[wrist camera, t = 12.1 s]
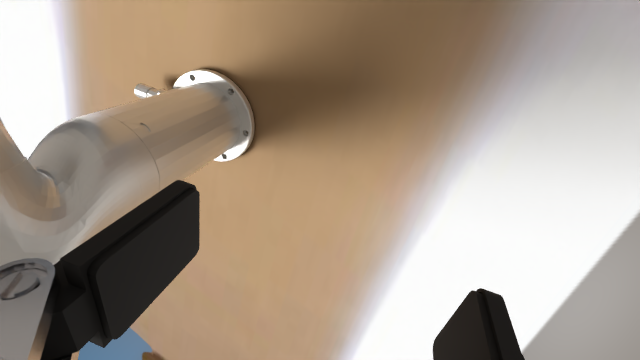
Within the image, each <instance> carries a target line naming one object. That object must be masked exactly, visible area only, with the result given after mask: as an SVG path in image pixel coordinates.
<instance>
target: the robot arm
mask: <svg viewBox="0 0 640 360" xmlns="http://www.w3.org/2000/svg"><path fill="white" fill-rule="evenodd" d="M135 95H136V96H137V97H139V98H141V99H140V100H136V101H133V102H129V103H126V104H122V105H119V106H115V107H112V108H108V109H105V110H101V111H98V112H94V113H91V114H86V115H83V116H80V117H76V118H73V119H71V120H68V121H66V122H64V123H63V124H61V125H59V126H57V127H56V128H55V129H53V130H52V131H51V132H50V133H48V134H47V135H46V136H45V138H44V139H43V140H42V141H41V142H40V143H39V144H38V146H37V147H36V148H35V150H34V151H33V153H32V154H31V156H30V157H29V159H28V160H27V158H26V157H24V156H23V155H22V153H21V152H20V150H19V149H18V147H17V146H16V144H15V143H14V141H13V140H12V138H11V137H10V135H9V134H8V132H7V130H6V129H5V127H4V126H3V124H2V123H1V121H0V360H78V355H79V350H80V349H81V348H82V347H83V346H84V345H85V344H86V343H87V342H88V341H90V342H92V343H94V344H96V345H99V346H101V347H103V348H104V347H105V346H106V345H107V344H108V343H109V342H110V341H111V340H112V339H117V338H119V337H120V336H121V335H122V334H123V333H124V332H125V331H126V330H127V329H128V328H129V327H130V326H131V325H132V324H133V323H134V322H135V320H136V319H137V318H138V317H139V316H140V315H141V314H142V313H143V312H144V311H145V310H146V309H147V307H148V306H149V305H150V304H151V303H152V302H153V301H154V300H155V299H156V298H157V297H158V296H159V294H160V293H161V292H162V291H163V290H164V289H165V288H166V287H167V286H168V285H169V284H170V283H171V282H172V280H173V279H174V278H175V277H176V276H177V275H178V274H179V273H180V272H181V271H182V270H183V269H184V267H185V266H186V265H187V264H188V263H189V262H190V261H191V260H192V259H193V258H194V257H195V255H196V254H197V252H198V250H199V192H198V191H197V190H196V187H195V185H192V184H190V183H187V182H184V180H185V179H187V178H188V177H190V176H191V175H192V174H194V173H195V172H197V171H198V170H200V169H201V168H203V167H204V166H206V165H207V164H209V163H210V162H212V161H213V160H214V161H221V162H222V161H230V160H233V159H236V158H237V157H239V156H240V155H242V154H243V153H244V152H245V151H246V150H247V149H248V147H249V146H250V144H251V142H252V140H253V136H254V128H255V122H254V117H253V112H252V109H251V106H250V104H249V102H248V100H247V98H246V96H245V95H244V94H243V92H242V91H241V89H240V88H239V87H238V86H237V85H236V84H235V83H234V82H233V81H232V80H230V79H229V78H227V77H226V76H225V75H223V74H221V73H218V72H216V71H212V70H208V69H198V70H193V71H190V72H187V73H185V74H183V75H182V76H181V77H179V78H178V80H177V81H176V82H175V83H174V86H173V88H172V89H170V90H165V89H160V90H157V89H155V88H153V87H150V86H147V85H145V84H142V83H140V84H138V85H137V86H136V87H135ZM433 359H434V360H525V359H524V357H523V355H522V354H521V351H520V348H519V345H518V342H517V339H516V336H515V333H514V330H513V326H512V323H511V320H510V317H509V314H508V311H507V308H506V305H505V302H504V299H503V297H502V296H501V295H498V294H496V293H493V292H490V291H487V290H484V289H481V288H480V289H478V290H477V291H471V292H470V293H469V294H468V295H467V297H466V298H465V299H464V301H463V302H462V303H461V305H460V306H459V307H458V309H457V310H456V311H455V313H454V314H453V316H452V317H451V318H450V320H449V321H448V322H447V324H446V325H445V326H444V328H443V329H442V330H441V332H440V333H439V334H438V336H437V337H436V339H435V341H434V344H433Z"/></svg>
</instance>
